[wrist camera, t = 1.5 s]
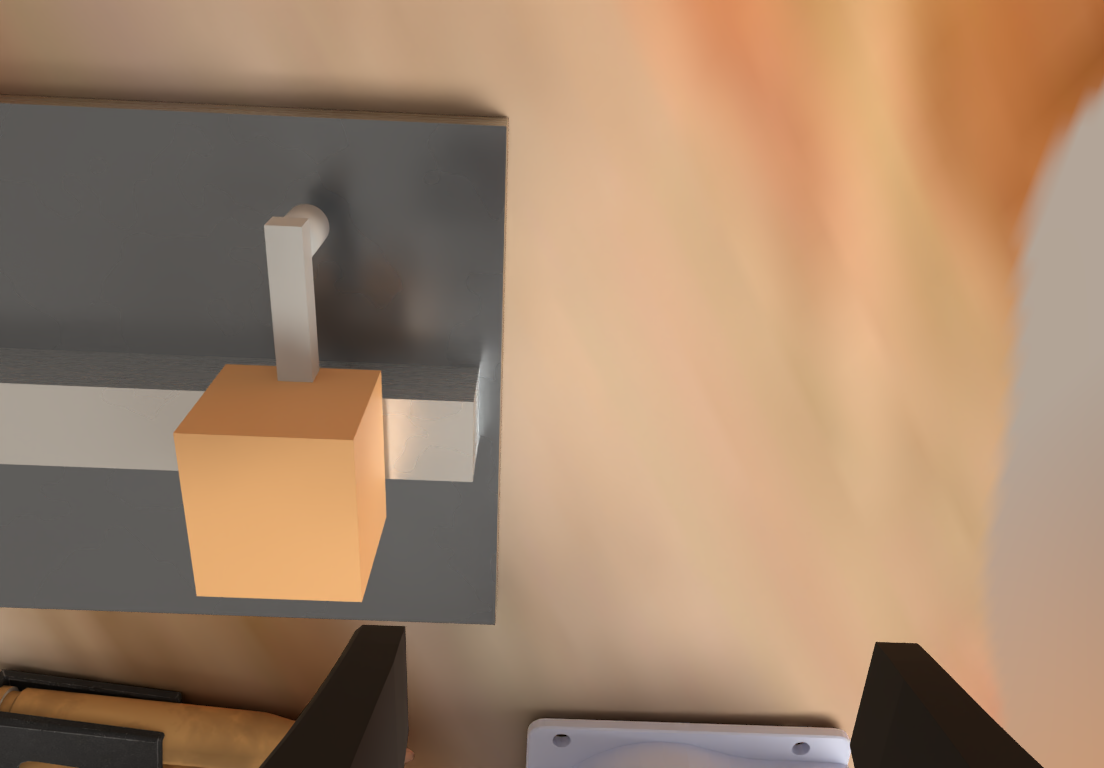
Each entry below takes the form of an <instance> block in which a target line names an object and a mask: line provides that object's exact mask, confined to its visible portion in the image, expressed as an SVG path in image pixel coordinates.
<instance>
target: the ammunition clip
mask: <svg viewBox="0 0 1104 768" xmlns="http://www.w3.org/2000/svg"><path fill="white" fill-rule="evenodd" d="M294 723H295V721H294V720H290V719H287V718H284V717H280V716H277V715H274V714H270V713H266V712H259V711H250V710H240V709H230V708H221V707H211V706H201V705H192V704H182V694H181V693H180V692H175V691H167V690H159V689H151V688H144V687H136V686H128V685H120V684H112V683H105V682H97V681H89V680H81V679H73V678H66V677H58V676H50V675H42V674H34V673H27V672H19V671H11V670H3V669H2V671H1V672H0V768H259V767H260V766H261V764H262V763H263V762H264V761H265V759H266V758H267V757H268V756H269V755H270V753H271V752H272V751H273V750H274V749H275V747H276V746H277V745H278V744H279V742H280V741H281V740H282V739H283V737H284V736H285V735H286V733H287V732H288V731H289V729H290V728H291V727H292V725H293V724H294ZM413 758H414V753H413V751H411V750H410V749H408V748H406V756H405V763H406V762H409V761H411V760H413Z"/></svg>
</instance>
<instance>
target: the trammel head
mask: <svg viewBox="0 0 1104 768" xmlns="http://www.w3.org/2000/svg"><path fill="white" fill-rule="evenodd" d="M264 233H265V244H266V255H267V266H268V277H269V289H270V300H271V311H272V322H273V334H274V345H275V356H276V366H261V365H236V364H226V365H225V366H224V367H223V369H222V370H221V371H220V373H219V374H218V375H217V376H216V378H215V379H214V380H213V382H212V383H211V384H210V386H209V387H208V388H207V389H206V391H205V392H204V393H203V395H202V396H201V397H200V399H199V400H198V401H197V403H196V404H195V405H194V406H193V408H192V409H191V410H190V412H189V413H188V414H187V416H186V417H185V418H184V420H183V421H182V422H181V423H180V425H179V426H178V427H177V429H176V430H175V431H174V433H173V437H174V443H175V450H176V457H177V464H178V471H179V478H180V485H181V491H182V498H183V505H184V512H185V519H186V526H187V533H188V539H189V546H190V553H191V560H192V567H193V574H194V581H195V587H196V594H197V596H205V597H233V598H261V599H289V600H316V601H344V602H362V600H363V597H364V593H365V590H366V586H367V583H368V579H369V576H370V572H371V569H372V565H373V562H374V558H375V555H376V551H377V548H378V544H379V541H380V537H381V534H382V530H383V527H384V523H385V520H386V490H385V463H384V436H383V409H382V382H381V370H359V369H334V368H319V355H318V340H317V325H316V311H315V296H314V281H313V266H312V257H313V255H314V254H315V253H316V251H317V250H318V249H319V247H320V246H321V245H322V243H323V242H324V241H325V239H326V238H327V236H328V234H329V222H328V219H327V217H326V215H325V214H324V213H323V211H322V210H320V209H319V208H318V207H316V206H313V205H310V204H300V205H297V206H295V207H293V208H292V209H291V210H290V211H289V212H288V213H287V214H286V215H285V216H284V217H272V218H271V219H270V220H269V221H268V222H267V223H266V224H265V225H264Z"/></svg>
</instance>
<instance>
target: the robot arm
mask: <svg viewBox="0 0 1104 768" xmlns="http://www.w3.org/2000/svg"><path fill="white" fill-rule="evenodd" d="M408 732H409V729H408V698H407V667H406V636H405V626H378V625H362V626H361V627H360V628H358V629H357V630H356V631H355V632H354V634H353V636H352V638H351V639H350V641H349V643H348V645H347V646H346V648H345V650H344V651H343V653H342V654H341V656H340V658H339V659H338V661H337V663H336V664H335V666H334V667H333V669H332V670H331V672H330V673H329V675H328V676H327V678H326V679H325V681H324V682H323V684H322V685H321V687H320V688H319V690H318V691H317V693H316V694H315V695H314V697H313V698H312V700H311V701H310V702H309V704H308V705H307V706H306V708H305V709H304V710H303V712H302V713H301V715H300V716H299V717H298V719H297V720H296V721H295V723H294V724H293V725H292V727H291V728H290V729H289V731H288V732H287V733H286V735H285V736H284V737H283V739H282V740H281V741H280V742H279V744H278V745H277V746H276V747H275V749H274V750H273V751H272V752H271V753H270V755H269V756H268V757H267V758H266V759H265V761H264V762H263V763H262V764H261V766H260V767H259V768H404V763H405V756H406V748H407V740H408ZM558 734H565V735H567V736H565V737H559V736H556V735H558ZM799 742H804V743H802V744H799V745H795V744H796V743H799ZM850 753H852V758H853V762H854V767H855V768H1043V767H1042V766H1041V765H1040V764H1039V763H1038V762H1037V761H1036V760H1035V759H1034V758H1033V757H1032V756H1031V755H1029V754H1028V753H1027V752H1026V751H1025V750H1024V749H1023V748H1022V747H1021V746H1020V745H1019V744H1018V743H1017V742H1016V741H1015V740H1014V739H1013V738H1012V737H1011V736H1010V735H1009V734H1008V733H1007V732H1006V731H1005V730H1004V729H1003V728H1001V727H1000V726H999V725H998V724H997V723H996V722H995V721H994V720H993V719H992V718H991V717H990V716H989V715H988V714H987V713H986V712H985V711H984V710H983V709H982V708H981V707H980V706H979V705H978V704H977V703H976V702H975V701H974V700H973V699H972V698H971V697H970V696H969V695H968V694H967V693H966V692H965V690H964V689H963V688H962V687H961V686H960V685H959V684H958V683H957V682H956V681H955V680H954V679H953V678H952V677H951V676H950V675H949V674H948V673H947V672H946V671H945V670H944V669H943V668H942V667H941V666H940V665H939V664H938V663H937V662H936V661H935V660H934V659H933V658H932V657H931V656H930V655H929V654H928V653H927V652H926V651H925V650H924V649H923V648H922V647H921V646H920V645H919V644H917V643H887V642H876V643H875V647H874V651H873V655H872V659H871V663H870V667H869V671H868V675H867V679H866V683H865V687H864V691H863V695H862V698H861V702H860V706H859V710H858V714H857V718H856V722H855V726H854V730H853V734H852V738H851V742H850V739H849V737H848V735H847V733H846V732H845V731H843V730H841V729H837V728H818V727H789V726H759V725H730V724H700V723H671V722H641V721H611V720H582V719H552V718H543V719H538V720H535V721H533V722H532V723H531V724H530V725H529V727H528V732H527V754H526V768H849V767H848V761H849V757H850Z"/></svg>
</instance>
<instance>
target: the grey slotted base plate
mask: <svg viewBox="0 0 1104 768" xmlns="http://www.w3.org/2000/svg"><path fill="white" fill-rule="evenodd" d="M508 126H509V118H502V117H480V116H458V115H436V114H414V113H392V112H371V111H349V110H327V109H305V108H283V107H261V106H240V105H218V104H196V103H174V102H152V101H130V100H109V99H87V98H65V97H43V96H21V95H0V607H11V608H39V609H67V610H95V611H123V612H151V613H179V614H207V615H236V616H264V617H292V618H320V619H348V620H376V621H404V622H432V623H460V624H488V625H495V619H496V607H497V580H498V538H499V497H500V456H501V415H502V373H503V332H504V291H505V250H506V208H507V167H508ZM300 204H310V205H313V206H316V207H318V208H319V209H320V210H322V211H323V213H324V214H325V215H326V217H327V219H328V222H329V234H328V236H327V238H326V239H325V241H324V242H323V243H322V245H321V246H320V247H319V249H318V250H317V251H316V253H315V254H314V255H313V257H312V266H313V281H314V296H315V311H316V325H317V340H318V355H319V368H334V369H359V370H381V382H382V409H383V436H384V463H385V490H386V520H385V523H384V527H383V530H382V534H381V537H380V541H379V544H378V548H377V551H376V555H375V558H374V562H373V565H372V569H371V572H370V576H369V579H368V583H367V586H366V590H365V593H364V597H363V600H362V602H344V601H316V600H289V599H261V598H233V597H205V596H197V594H196V587H195V581H194V574H193V567H192V560H191V553H190V546H189V539H188V533H187V526H186V519H185V512H184V505H183V498H182V491H181V485H180V478H179V471H178V464H177V457H176V450H175V443H174V437H173V433H174V431H175V430H176V429H177V427H178V426H179V425H180V423H181V422H182V421H183V420H184V418H185V417H186V416H187V414H188V413H189V412H190V410H191V409H192V408H193V406H194V405H195V404H196V403H197V401H198V400H199V399H200V397H201V396H202V395H203V393H204V392H205V391H206V389H207V388H208V387H209V386H210V384H211V383H212V382H213V380H214V379H215V378H216V376H217V375H218V374H219V373H220V371H221V370H222V369H223V367H224V366H225V365H226V364H236V365H261V366H276V356H275V345H274V334H273V322H272V311H271V300H270V289H269V277H268V266H267V255H266V244H265V233H264V225H265V224H266V223H267V222H268V221H269V220H270V219H271V218H272V217H284V216H285V215H286V214H287V213H288V212H289V211H290V210H291V209H292V208H293V207H295V206H297V205H300Z"/></svg>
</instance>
